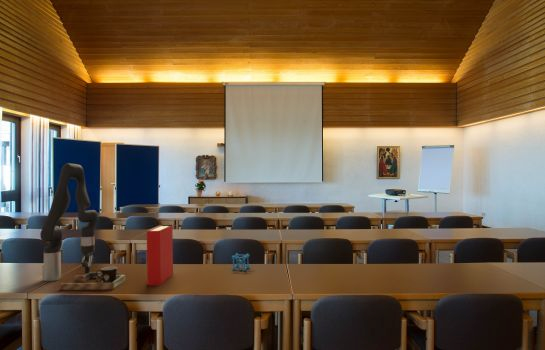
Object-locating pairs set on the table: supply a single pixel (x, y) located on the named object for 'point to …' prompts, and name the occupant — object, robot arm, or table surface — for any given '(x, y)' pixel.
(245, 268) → the molecular structure
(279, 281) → the table surface
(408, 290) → the table surface
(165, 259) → the book
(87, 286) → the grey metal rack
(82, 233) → the robot arm
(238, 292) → the table surface
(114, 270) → the coffee mug
